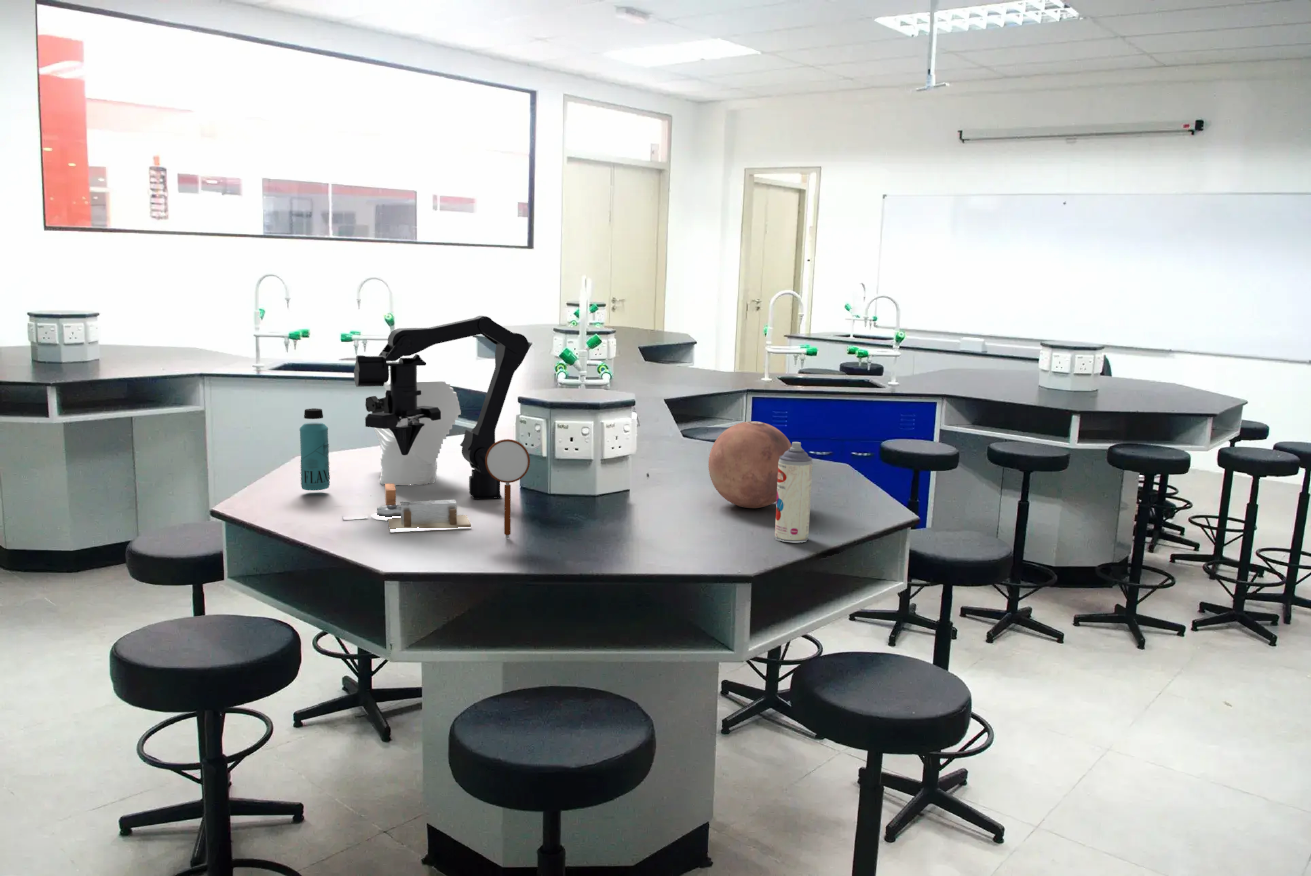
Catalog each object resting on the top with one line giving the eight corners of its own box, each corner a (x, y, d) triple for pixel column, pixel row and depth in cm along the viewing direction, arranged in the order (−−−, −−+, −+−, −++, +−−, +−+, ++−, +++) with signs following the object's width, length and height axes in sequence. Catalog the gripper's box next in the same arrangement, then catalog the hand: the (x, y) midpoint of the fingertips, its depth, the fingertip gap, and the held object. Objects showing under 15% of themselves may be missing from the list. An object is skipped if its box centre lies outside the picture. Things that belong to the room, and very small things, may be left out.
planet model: (799, 501, 229) (803, 418, 226) (787, 521, 210) (792, 431, 207) (716, 494, 234) (720, 413, 231) (698, 512, 215) (701, 424, 212)
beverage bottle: (299, 497, 219) (296, 410, 215) (302, 491, 225) (299, 406, 222) (329, 496, 220) (327, 410, 217) (331, 490, 227) (329, 406, 223)
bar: (455, 518, 200) (454, 499, 199) (456, 522, 197) (456, 503, 196) (400, 520, 196) (400, 501, 196) (401, 524, 193) (401, 505, 193)
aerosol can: (772, 534, 198) (777, 439, 195) (805, 535, 198) (811, 440, 195) (776, 543, 191) (781, 444, 188) (810, 544, 191) (816, 446, 188)
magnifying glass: (529, 538, 190) (530, 438, 187) (529, 540, 188) (529, 440, 185) (485, 537, 189) (485, 438, 186) (484, 540, 188) (484, 439, 185)
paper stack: (373, 489, 228) (371, 382, 224) (374, 468, 254) (372, 371, 250) (463, 487, 234) (462, 382, 230) (455, 466, 260) (455, 371, 256)
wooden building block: (403, 502, 214) (403, 483, 214) (407, 516, 202) (406, 495, 201) (375, 503, 212) (375, 484, 212) (377, 517, 200) (377, 497, 200)
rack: (466, 519, 203) (466, 501, 202) (471, 529, 196) (471, 510, 195) (388, 523, 198) (387, 504, 198) (390, 533, 191) (389, 513, 190)
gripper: (404, 379, 224) (405, 445, 226) (345, 386, 207) (347, 457, 210) (442, 383, 219) (442, 450, 221) (384, 390, 202) (385, 462, 205)
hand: (404, 454), depth 215 cm, fingers closed
